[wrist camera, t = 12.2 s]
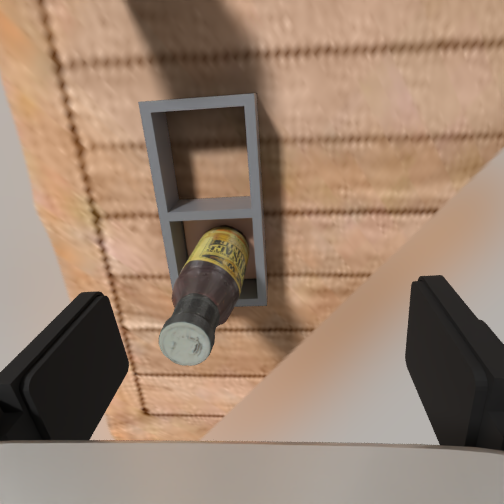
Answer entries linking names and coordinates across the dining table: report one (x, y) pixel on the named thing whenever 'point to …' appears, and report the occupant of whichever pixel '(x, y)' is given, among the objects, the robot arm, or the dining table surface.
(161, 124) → the dock
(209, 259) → the sauce bottle
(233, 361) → the dining table surface
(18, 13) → the dining table surface
